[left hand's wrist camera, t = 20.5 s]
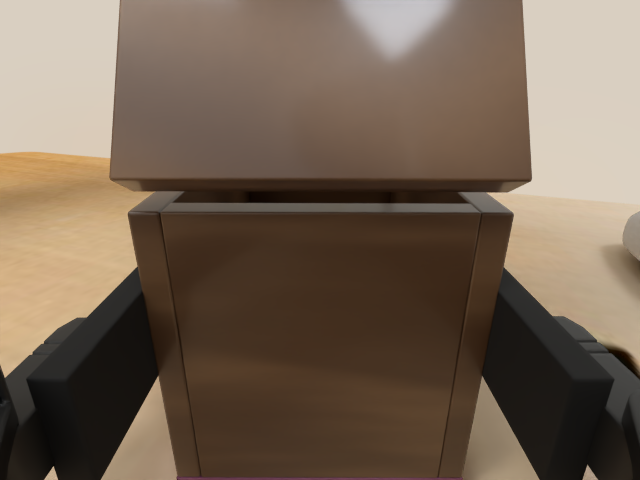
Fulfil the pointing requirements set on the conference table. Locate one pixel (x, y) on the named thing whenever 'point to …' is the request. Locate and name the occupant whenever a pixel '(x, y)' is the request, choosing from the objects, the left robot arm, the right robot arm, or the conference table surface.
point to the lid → (321, 96)
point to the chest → (320, 328)
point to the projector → (632, 235)
